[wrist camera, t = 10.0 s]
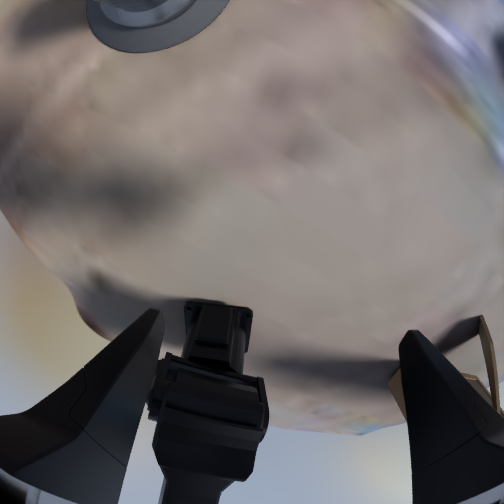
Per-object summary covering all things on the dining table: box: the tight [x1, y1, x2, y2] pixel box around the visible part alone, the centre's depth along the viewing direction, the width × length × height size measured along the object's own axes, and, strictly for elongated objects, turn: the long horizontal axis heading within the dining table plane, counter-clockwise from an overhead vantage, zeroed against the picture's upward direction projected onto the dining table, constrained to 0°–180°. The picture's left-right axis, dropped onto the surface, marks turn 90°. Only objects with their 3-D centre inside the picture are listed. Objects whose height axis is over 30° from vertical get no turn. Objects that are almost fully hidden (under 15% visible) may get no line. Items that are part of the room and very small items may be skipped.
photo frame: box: [387, 315, 504, 421], centre depth 21 cm, size 15×22×25 cm
